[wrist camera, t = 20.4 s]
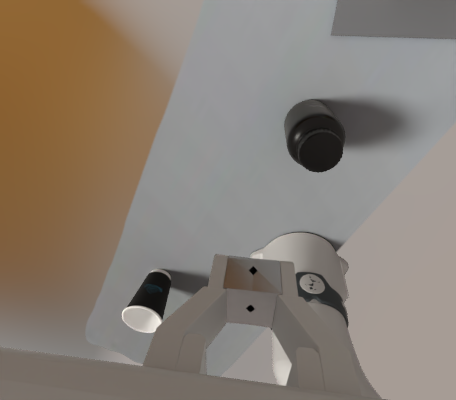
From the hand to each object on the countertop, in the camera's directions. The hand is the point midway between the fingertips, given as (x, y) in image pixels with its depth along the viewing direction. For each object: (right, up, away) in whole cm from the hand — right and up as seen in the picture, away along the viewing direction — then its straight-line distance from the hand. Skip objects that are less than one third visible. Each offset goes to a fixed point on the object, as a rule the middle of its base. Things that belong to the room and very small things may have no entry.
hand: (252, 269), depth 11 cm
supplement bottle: (+11, +14, +29) cm, 34 cm away
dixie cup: (-16, -14, +50) cm, 55 cm away
